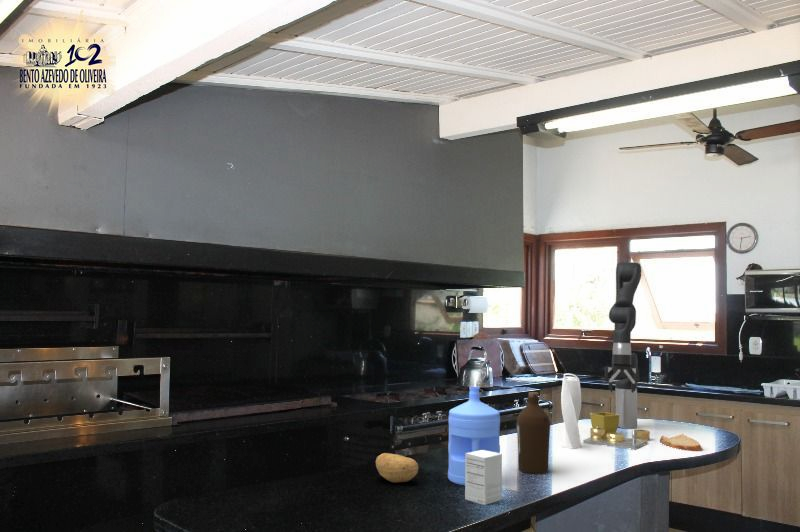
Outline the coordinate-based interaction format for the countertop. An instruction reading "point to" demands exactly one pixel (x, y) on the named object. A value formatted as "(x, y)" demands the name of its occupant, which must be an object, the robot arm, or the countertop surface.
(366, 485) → the countertop surface
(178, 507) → the countertop surface
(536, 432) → the olive oil
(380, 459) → the potato
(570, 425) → the skyscraper
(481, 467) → the supplement box
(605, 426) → the flower pot
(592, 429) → the carrier
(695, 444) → the slice of bread
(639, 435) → the gold octagonal ring
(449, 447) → the water jug
